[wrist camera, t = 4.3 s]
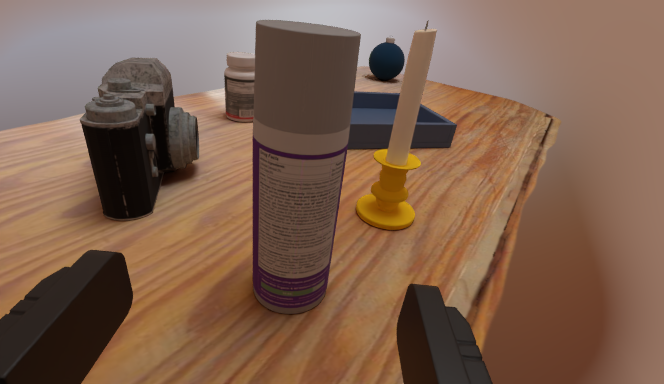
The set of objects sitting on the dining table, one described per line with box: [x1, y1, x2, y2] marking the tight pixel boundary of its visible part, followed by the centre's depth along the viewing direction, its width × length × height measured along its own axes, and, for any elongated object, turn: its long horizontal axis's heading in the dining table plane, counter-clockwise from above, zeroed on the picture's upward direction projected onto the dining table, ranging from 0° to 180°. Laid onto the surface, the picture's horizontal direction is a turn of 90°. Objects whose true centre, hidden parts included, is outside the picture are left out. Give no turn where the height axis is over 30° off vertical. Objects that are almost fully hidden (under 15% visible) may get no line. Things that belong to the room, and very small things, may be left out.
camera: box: [80, 58, 199, 220], centre depth 30 cm, size 15×7×10 cm, turn 16°
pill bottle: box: [224, 52, 255, 122], centre depth 47 cm, size 5×5×8 cm
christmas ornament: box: [369, 38, 404, 80], centre depth 82 cm, size 8×8×10 cm
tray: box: [347, 92, 457, 149], centre depth 50 cm, size 18×16×3 cm
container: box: [253, 20, 361, 314], centre depth 18 cm, size 5×5×15 cm
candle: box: [356, 21, 437, 230], centre depth 27 cm, size 5×5×16 cm
